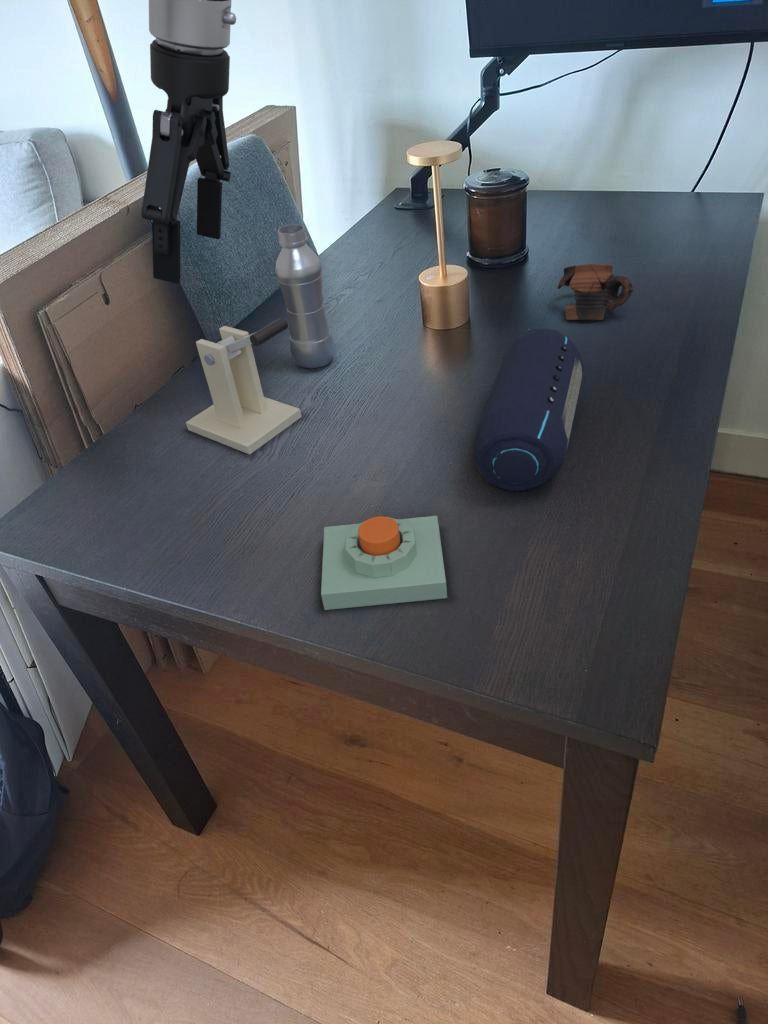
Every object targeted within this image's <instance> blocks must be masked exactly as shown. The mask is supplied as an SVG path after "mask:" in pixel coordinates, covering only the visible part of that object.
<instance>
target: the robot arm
mask: <svg viewBox="0 0 768 1024" xmlns="http://www.w3.org/2000/svg"><path fill="white" fill-rule="evenodd" d="M231 11H232V0H148V31H149V33H150V35H151V36H152V37H154V38H155V39H154V40H152V41H151V43H149V59H150V60H149V62H150V64H149V65H150V81H151V83H152V84H153V85H154V86H155V87H156V88H157V89H159V90H162V91H163V92H164V93H165V94H166V96H167V101H166V108H165V110H164V111H163V110H160V109H159V110H158V109H154V110H153V112H152V133H151V134H152V135H151V142H150V143H151V144H150V152H149V158H148V164H147V171H146V179H145V185H144V186H145V187H144V192H143V200H142V207H141V219H142V220H146V221H151V235H152V239H151V240H152V277H153V279H156V280H159V281H160V280H161V281H165V282H169V283H173V284H179V283H180V282H181V220H177V219H178V215H179V210H180V206H181V201H182V199H183V198H182V197H183V193H184V189H185V184H186V180H187V177H188V173H189V168H190V164H191V162H193V161H195V160H196V164H197V167H198V169H199V173H200V175H201V177H198V178H197V181H196V182H197V183H196V184H197V185H196V187H197V189H196V193H197V194H196V195H197V196H196V235H197V236H200V237H205V238H210V239H214V240H220V239H221V232H222V231H221V230H222V203H223V200H222V199H223V182H227V183H229V182H230V180H231V171H228V170H229V168H230V157H229V149H228V142H227V134H226V126H225V118H224V105H223V104H224V97H225V96H226V95H227V94H228V92H229V90H230V67H231V66H230V65H231V63H230V62H231V57H230V55H229V53H228V51H226V50H225V49H226V48H227V47H229V46H230V44H231V26H234V25H235V24H236V23H237V16H236V14H235V13H233V12H231ZM222 181H223V182H222Z"/></svg>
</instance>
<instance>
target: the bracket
mask: <svg viewBox="0 0 768 1024" xmlns="http://www.w3.org/2000/svg"><path fill="white" fill-rule="evenodd" d="M218 330H219V334H220V337H221V340H223V339H225V338H227V337H230V336H233V337H234V339H235V341H236V340H239V339H241V338H243V337H246V336H248V335H250V333H249V332H248V331H246V330H242V329H238V328H235V327H231V326H227V325H223V326H221V327H219V328H218ZM195 345H196V349H197V352H198V355H199V360H200V362H201V365H202V368H203V373H204V376H205V379H206V383H207V386H208V388H209V389H208V390H209V393H210V397H211V400H212V404H211V405H210V406H209V407H207V408H205V409H204V410H202V411H201V412H199V413H197V414H196V415H194V416H193V417H192V418H190V419H188V420H187V421H186V422H185V425H186V428H187V430H188V431H189V432H192V433H194V434H197V435H199V436H202V437H204V438H207V439H210V440H212V441H215V442H217V443H219V444H222V445H224V446H227V447H229V448H232V449H234V450H237V451H239V452H242V453H245V454H246V455H252V454H253V453H254V452H255V451H257V450H259V449H260V448H261V447H263V446H265V444H267V443H268V442H270V441H271V440H272V439H273V438H275V437H277V436H278V435H279V434H281V433H282V432H284V431H285V430H286V429H287V428H289V427H290V426H292V425H293V424H294V423H296V422H297V421H299V420H300V419H301V418H302V417H303V416H302V411H301V408H298V407H296V406H293V405H290V404H286V403H285V402H284V403H283V402H281V401H277V400H275V399H272V398H270V397H266V396H264V392H263V388H262V383H261V380H260V379H261V378H260V376H259V372H258V367H257V363H256V359H255V354H254V350H253V347H252V346H253V345H252V344H251V345H249V346H246V347H244V348H241V349H240V350H241V352H242V353H241V354H239V355H237V356H236V357H234V358H232V359H231V360H229V359H228V355H227V352H226V348H225V346H223V345H220V344H217V342H213V341H210V340H208V339H207V340H206V339H203V338H201V339H199V340H196V341H195Z"/></svg>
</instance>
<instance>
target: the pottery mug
mask: <svg viewBox="0 0 768 1024" xmlns="http://www.w3.org/2000/svg"><path fill="white" fill-rule="evenodd" d="M613 268H614V267H613V265H611V264H607V263H589V264H588V263H587V264H578V265H571V266H567V267H564V268H563V276H562V277H561V278H560V280H559V283H558V285H557V289H558V290H560V289H561V288H563V287H564V286H566V287H569V288H570V290H571V291H573V292H574V293H573V295H574V299H575V303H572V304H567V305H565V306H564V312H565V320H566V321H582V320H584V321H604V319H605V314H606V311H607V309H608V311H609V312H610V313H613V312H615V310H616V309H617V308H618V307H620V306H623V305H624V304H626V303H627V301H629V299H630V297H631V295H632V293H633V292H634V289H633V283H632V281H631V279H630V278H629V277H627V276H624V275H616V276H615V275H614V274H613ZM620 287H621V291H620ZM619 291H620V293H619ZM618 294H619V295H618Z"/></svg>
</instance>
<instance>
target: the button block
mask: <svg viewBox="0 0 768 1024" xmlns="http://www.w3.org/2000/svg"><path fill="white" fill-rule="evenodd" d="M388 517H389V518H391V519H393V520H395V521H396V522H397V524H398V527H399V534H400V544H399V546H398V548H397V549H396V550H395V551H393V552H391V553H389V554H387V555H379V556H373V555H369V554H367V553H365V552H364V551H363V550H362V549H361V546H360V541H359V535H358V529H359V527H360V525H361V524H362V523H363V522H364V521H362V522H359V523H350V524H342V525H341V524H340V525H332V526H331V525H330V526H324V528H323V543H322V544H323V545H322V564H321V565H322V567H321V587H320V596H321V601H322V606H323V609H324V611H329V610H331V611H332V610H338V609H350V608H359V607H360V608H361V607H371V606H381V605H391V604H392V605H393V604H401V603H411V602H412V603H413V602H422V601H433V600H442V599H448V589H447V588H448V587H447V579H446V572H445V571H446V570H445V564H444V557H443V556H444V555H443V548H442V540H441V533H440V527H439V518H438V515H428V516H420V517H409V518H399V519H398V518H393V517H390V516H388Z"/></svg>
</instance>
